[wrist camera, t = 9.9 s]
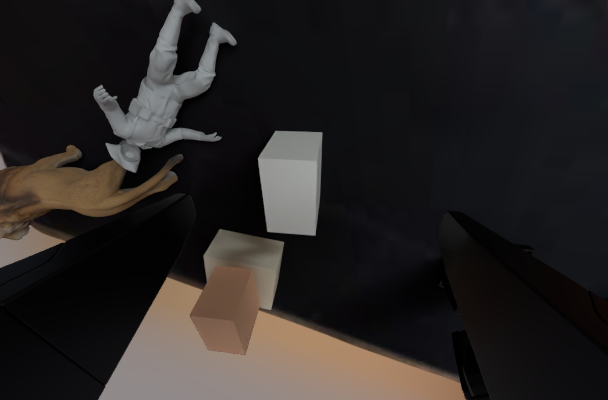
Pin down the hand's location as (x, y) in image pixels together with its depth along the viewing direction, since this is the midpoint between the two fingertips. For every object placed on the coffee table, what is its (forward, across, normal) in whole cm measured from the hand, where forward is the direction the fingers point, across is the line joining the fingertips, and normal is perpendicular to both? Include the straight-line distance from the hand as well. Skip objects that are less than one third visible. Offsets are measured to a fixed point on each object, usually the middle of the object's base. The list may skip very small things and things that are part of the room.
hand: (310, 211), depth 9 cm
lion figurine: (+11, +20, +5) cm, 23 cm away
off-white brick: (+11, +2, +4) cm, 12 cm away
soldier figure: (+11, +11, -2) cm, 16 cm away
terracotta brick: (+7, +8, +16) cm, 19 cm away
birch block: (+11, +8, +16) cm, 21 cm away
